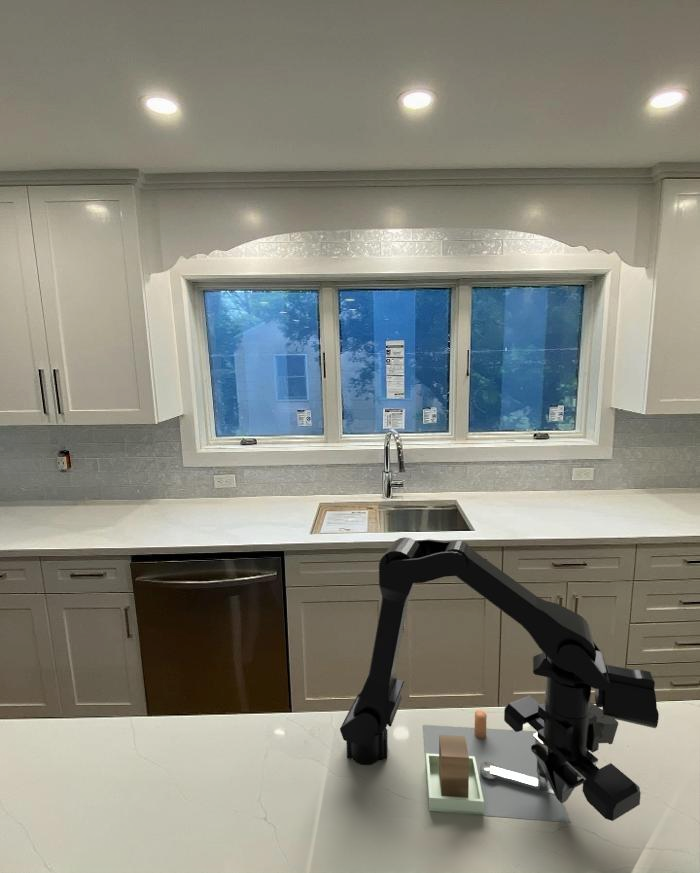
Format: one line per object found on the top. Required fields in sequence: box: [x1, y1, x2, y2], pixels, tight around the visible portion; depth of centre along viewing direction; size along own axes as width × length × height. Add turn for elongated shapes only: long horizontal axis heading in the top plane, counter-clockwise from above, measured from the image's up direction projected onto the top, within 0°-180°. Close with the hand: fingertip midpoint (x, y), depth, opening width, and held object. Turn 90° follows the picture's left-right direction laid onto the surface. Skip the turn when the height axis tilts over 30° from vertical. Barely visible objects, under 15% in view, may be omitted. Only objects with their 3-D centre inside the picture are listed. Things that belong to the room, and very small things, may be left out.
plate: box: [422, 709, 571, 824], centre depth 73 cm, size 20×16×5 cm
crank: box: [480, 759, 550, 791], centre depth 71 cm, size 10×3×5 cm, turn 69°
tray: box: [425, 753, 484, 816], centre depth 70 cm, size 8×8×2 cm
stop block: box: [439, 735, 469, 798], centre depth 69 cm, size 4×4×7 cm
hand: (561, 800), depth 66 cm, fingers closed
